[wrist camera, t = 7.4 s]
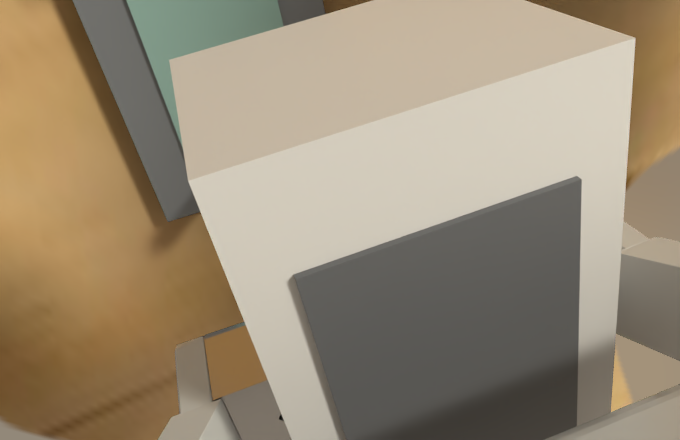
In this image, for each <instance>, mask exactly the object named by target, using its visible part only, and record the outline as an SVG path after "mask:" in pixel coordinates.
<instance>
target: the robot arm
mask: <svg viewBox="0 0 680 440" xmlns="http://www.w3.org/2000/svg"><path fill="white" fill-rule="evenodd" d="M616 334H618V335H621V336H623V337H625V338H627V339H630V340H632V341H635V342H637V343H639V344H642V345H644V346H646V347H649V348H651V349H653V350H656V351H658V352H660V353H662V354H665V355H667V356H670V357H672V358H674V359H676V360H679V361H680V241H675V240H670V239H665V238H660V237H655V238H653V239H648V238H647V237H646V236H644V235H643V234H641V233H640V232H639V231H637V230H636V229H634V228H633V227H632V226H630V225H629V224H627V223H626V222H625V221H623V234H622V249H621V264H620V279H619V294H618V309H617V324H616ZM175 361H176V374H177V387H178V401H179V414H178V415H176V416H173V417H171V418H170V420H169V422H168V423H167V425H166V427H165V428H164V430H163V432H162V433H161V435H160V437H159V438H158V440H292V439H291V437H290V434H289V432H288V429H287V427H286V424H285V422H284V419H283V417H282V414H281V412H280V409H279V407H278V404H277V402H276V399H275V397H274V394H273V392H272V389H271V387H270V384H269V382H268V379H267V377H266V374H265V372H264V369H263V367H262V364H261V362H260V359H259V357H258V354H257V352H256V349H255V347H254V344H253V342H252V339H251V337H250V334H249V332H248V329H247V327H246V324H245V322H243V323H240V324H237V325H234V326H231V327H227V328H224V329H221V330H218V331H215V332H212V333H209V334H206V335H205V336H202V337H199V338H196V339H193V340H190V341H187V342H184V343H181V344H178V345H177V346H176V349H175ZM544 440H680V384H679V385H676V386H674V387H671V388H669V389H666V390H664V391H661V392H659V393H657V394H655V395H652V396H649V397H647V398H644V399H642V400H640V401H637V402H635V403H632V404H630V405H627V406H625V407H622V408H620V409H618V410H615V411H613V412H610V413H608V414H605V415H603V416H601V417H598V418H596V419H593V420H591V421H588V422H586V423H583V424H581V425H579V426H576V427H574V428H571V429H569V430H566V431H564V432H562V433H559V434H557V435H554V436H552V437H549V438H547V439H544Z"/></svg>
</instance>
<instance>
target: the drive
mask: <svg viewBox="0 0 680 440" xmlns="http://www.w3.org/2000/svg"><path fill="white" fill-rule="evenodd" d="M635 40H636V38H635V37H632V36H629V35H626V34H623V33H620V32H617V31H614V30H611V29H608V28H605V27H602V26H599V25H596V24H593V23H590V22H587V21H584V20H582V19H579V18H576V17H573V16H570V15H567V14H564V13H561V12H558V11H555V10H552V9H549V8H546V7H543V6H540V5H537V4H534V3H531V2H528V1H525V0H373V1H369V2H366V3H362V4H359V5H355V6H352V7H349V8H345V9H342V10H338V11H335V12H331V13H328V14H325V15H321V16H318V17H314V18H311V19H307V20H304V21H301V22H297V23H294V24H290V25H287V26H283V27H280V28H277V29H273V30H270V31H266V32H263V33H259V34H256V35H253V36H249V37H246V38H242V39H239V40H235V41H232V42H229V43H225V44H222V45H218V46H215V47H211V48H208V49H205V50H201V51H198V52H194V53H191V54H187V55H184V56H181V57H177V58H174V59H170V60H169V63H170V69H171V75H172V82H173V88H174V95H175V101H176V107H177V114H178V120H179V126H180V133H181V139H182V146H183V152H184V158H185V165H186V171H187V177H188V182H189V185H190V187H191V190H192V192H193V195H194V197H195V200H196V202H197V205H198V207H199V210H200V212H201V215H202V217H203V220H204V222H205V225H206V227H207V230H208V232H209V234H210V237H211V239H212V242H213V244H214V247H215V249H216V252H217V254H218V257H219V259H220V262H221V264H222V267H223V269H224V272H225V274H226V277H227V279H228V282H229V284H230V287H231V289H232V292H233V294H234V297H235V299H236V302H237V304H238V307H239V309H240V312H241V314H242V317H243V319H244V322H245V324H246V327H247V329H248V332H249V334H250V337H251V339H252V342H253V344H254V347H255V349H256V352H257V354H258V357H259V359H260V362H261V364H262V367H263V369H264V372H265V374H266V377H267V379H268V382H269V384H270V387H271V389H272V392H273V394H274V397H275V399H276V402H277V404H278V407H279V409H280V412H281V414H282V417H283V419H284V422H285V424H286V427H287V429H288V432H289V434H290V437H291V439H292V440H544V439H547V438H549V437H552V436H554V435H557V434H559V433H562V432H564V431H566V430H569V429H571V428H574V427H576V426H579V425H581V424H583V423H586V422H588V421H591V420H593V419H596V418H598V417H601V416H603V415H605V414H608V413H610V412H611V398H612V383H613V368H614V353H615V338H616V324H617V309H618V294H619V279H620V264H621V249H622V234H623V219H624V204H625V189H626V174H627V159H628V144H629V129H630V114H631V100H632V85H633V70H634V55H635Z"/></svg>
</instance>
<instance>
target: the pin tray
mask: <svg viewBox="0 0 680 440" xmlns="http://www.w3.org/2000/svg"><path fill="white" fill-rule="evenodd" d="M73 3H74V5H75V7H76V10H77V12H78V14H79V17H80V19H81V21H82V24H83V26H84V28H85V31H86V33H87V35H88V38H89V40H90V42H91V45H92V47H93V49H94V52H95V54H96V56H97V59H98V61H99V63H100V66H101V68H102V70H103V73H104V75H105V77H106V79H107V82H108V84H109V86H110V89H111V91H112V93H113V96H114V98H115V100H116V103H117V105H118V107H119V110H120V112H121V114H122V117H123V119H124V121H125V124H126V126H127V128H128V131H129V133H130V135H131V138H132V140H133V142H134V145H135V147H136V149H137V152H138V154H139V156H140V159H141V161H142V163H143V166H144V168H145V170H146V172H147V175H148V177H149V179H150V182H151V184H152V186H153V189H154V191H155V193H156V196H157V198H158V200H159V203H160V205H161V207H162V210H163V212H164V214H165V217H166V219H167V221H168V222H169V221H173V220H176V219H179V218H182V217H185V216H189V215H192V214H195V213H198V212H200V210H199V207H198V205H197V202H196V200H195V197H194V195H193V192H192V190H191V187H190V185H189V182H188V177H187V171H186V165H185V158H184V152H183V146H182V139H181V133H180V126H179V120H178V114H177V107H176V101H175V95H174V88H173V82H172V75H171V69H170V63H169V60H170V59H174V58H177V57H181V56H184V55H187V54H191V53H194V52H198V51H201V50H205V49H208V48H211V47H215V46H218V45H222V44H225V43H229V42H232V41H235V40H239V39H242V38H246V37H249V36H253V35H256V34H259V33H263V32H266V31H270V30H273V29H277V28H280V27H283V26H287V25H290V24H294V23H297V22H301V21H304V20H307V19H311V18H314V17H318V16H321V15H325V10H324V5H323V0H73Z"/></svg>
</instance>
